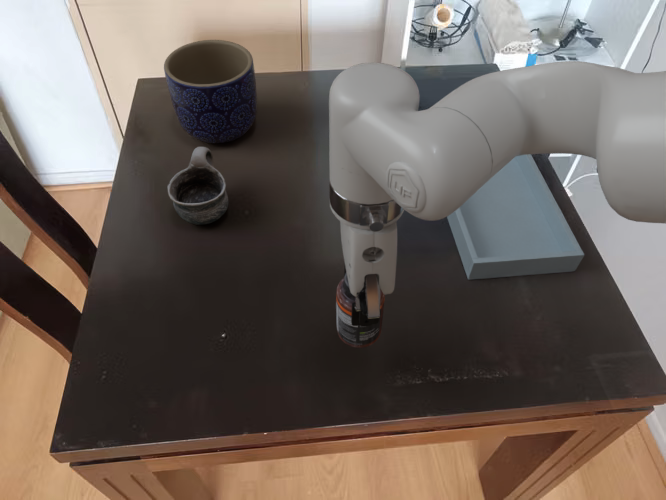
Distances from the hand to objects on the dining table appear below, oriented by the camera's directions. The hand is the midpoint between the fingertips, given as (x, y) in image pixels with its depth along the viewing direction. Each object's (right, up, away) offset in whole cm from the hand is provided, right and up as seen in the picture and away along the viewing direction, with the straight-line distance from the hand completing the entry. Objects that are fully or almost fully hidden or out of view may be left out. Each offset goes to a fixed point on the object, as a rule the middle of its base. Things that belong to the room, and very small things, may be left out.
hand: (360, 299), depth 66 cm
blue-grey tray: (+25, +15, +32) cm, 44 cm away
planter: (-27, +31, +45) cm, 61 cm away
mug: (-27, +13, +30) cm, 42 cm away
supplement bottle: (0, -5, +5) cm, 7 cm away
